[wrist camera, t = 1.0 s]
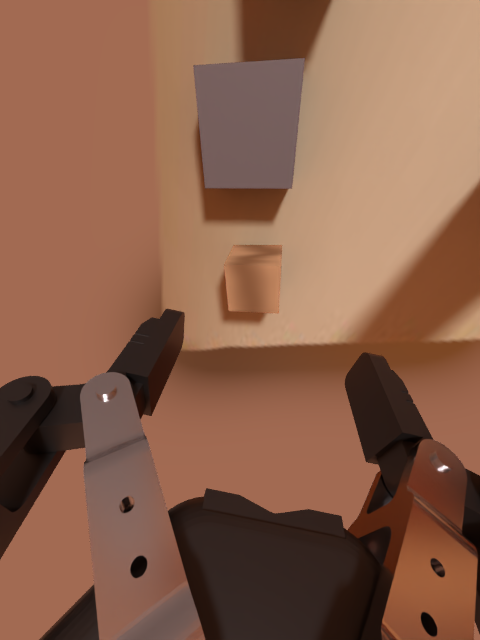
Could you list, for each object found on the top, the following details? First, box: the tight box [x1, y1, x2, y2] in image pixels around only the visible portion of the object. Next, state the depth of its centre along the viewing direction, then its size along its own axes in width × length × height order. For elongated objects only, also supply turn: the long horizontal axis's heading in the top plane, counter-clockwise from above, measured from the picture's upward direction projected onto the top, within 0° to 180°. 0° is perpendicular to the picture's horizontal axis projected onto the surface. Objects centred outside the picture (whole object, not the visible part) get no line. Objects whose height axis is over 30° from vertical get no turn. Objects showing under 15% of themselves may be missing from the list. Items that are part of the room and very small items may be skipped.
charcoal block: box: [193, 58, 305, 189], centre depth 20 cm, size 8×8×4 cm
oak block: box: [224, 245, 282, 313], centre depth 27 cm, size 6×6×6 cm
